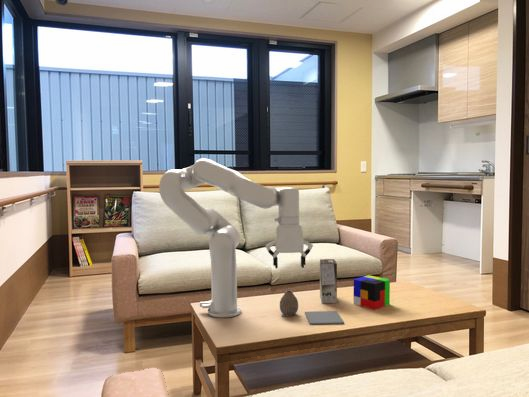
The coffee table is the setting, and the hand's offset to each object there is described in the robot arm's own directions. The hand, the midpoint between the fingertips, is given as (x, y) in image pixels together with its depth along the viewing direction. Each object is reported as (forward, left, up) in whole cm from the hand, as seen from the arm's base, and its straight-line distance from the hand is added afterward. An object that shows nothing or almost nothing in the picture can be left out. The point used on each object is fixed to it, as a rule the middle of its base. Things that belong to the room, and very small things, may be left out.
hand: (289, 267), depth 155 cm
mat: (+12, -5, -18) cm, 22 cm away
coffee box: (+18, +17, -18) cm, 30 cm away
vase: (0, 0, -18) cm, 18 cm away
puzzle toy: (+34, +10, -18) cm, 40 cm away
